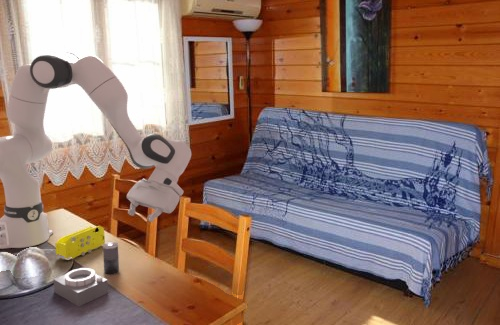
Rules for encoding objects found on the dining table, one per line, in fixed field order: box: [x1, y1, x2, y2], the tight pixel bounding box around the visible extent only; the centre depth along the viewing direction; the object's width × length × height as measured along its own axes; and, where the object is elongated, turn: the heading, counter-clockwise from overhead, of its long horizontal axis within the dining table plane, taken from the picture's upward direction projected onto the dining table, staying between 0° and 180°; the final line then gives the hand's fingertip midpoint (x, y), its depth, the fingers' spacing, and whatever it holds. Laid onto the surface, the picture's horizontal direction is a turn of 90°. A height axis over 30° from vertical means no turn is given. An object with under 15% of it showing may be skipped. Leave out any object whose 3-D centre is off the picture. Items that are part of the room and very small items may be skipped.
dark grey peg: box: [102, 241, 120, 276], centre depth 128 cm, size 4×4×9 cm
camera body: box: [53, 267, 109, 307], centre depth 115 cm, size 12×9×6 cm
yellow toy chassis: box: [55, 225, 106, 260], centre depth 141 cm, size 16×6×8 cm, turn 152°
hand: (139, 217), depth 135 cm, fingers open, 8 cm apart
